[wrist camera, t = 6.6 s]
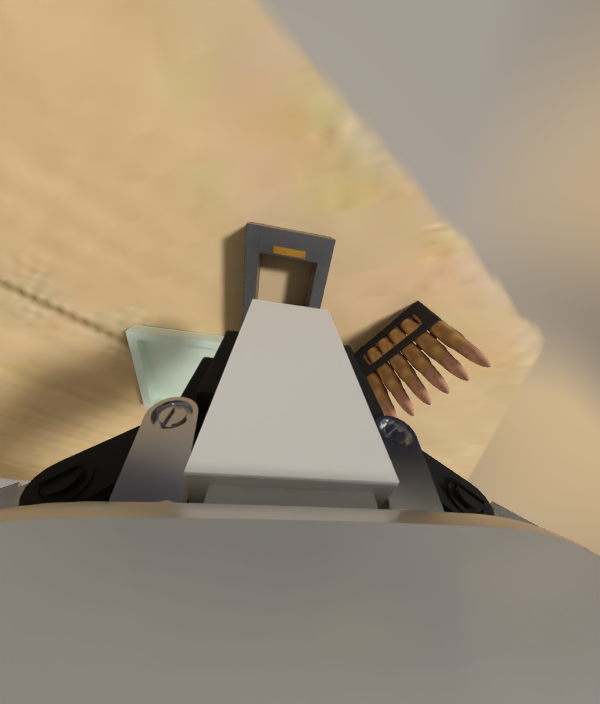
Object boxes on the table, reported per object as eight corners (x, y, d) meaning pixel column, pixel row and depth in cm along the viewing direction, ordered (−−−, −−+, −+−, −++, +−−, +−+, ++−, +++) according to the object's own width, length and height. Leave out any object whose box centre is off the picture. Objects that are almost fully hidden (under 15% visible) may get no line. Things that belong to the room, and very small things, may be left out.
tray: (234, 405, 35) (232, 414, 33) (150, 398, 33) (144, 407, 32) (237, 337, 29) (234, 344, 27) (134, 324, 27) (125, 331, 26)
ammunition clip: (359, 364, 32) (394, 435, 22) (351, 356, 31) (382, 426, 21) (426, 309, 28) (505, 365, 18) (418, 300, 27) (496, 352, 17)
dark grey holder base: (343, 391, 34) (360, 442, 27) (242, 381, 32) (229, 433, 25) (393, 249, 24) (443, 265, 16) (251, 221, 22) (232, 226, 14)
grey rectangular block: (313, 370, 14) (349, 588, 6) (248, 363, 14) (189, 590, 5) (328, 310, 12) (414, 517, 4) (252, 298, 12) (168, 510, 3)
